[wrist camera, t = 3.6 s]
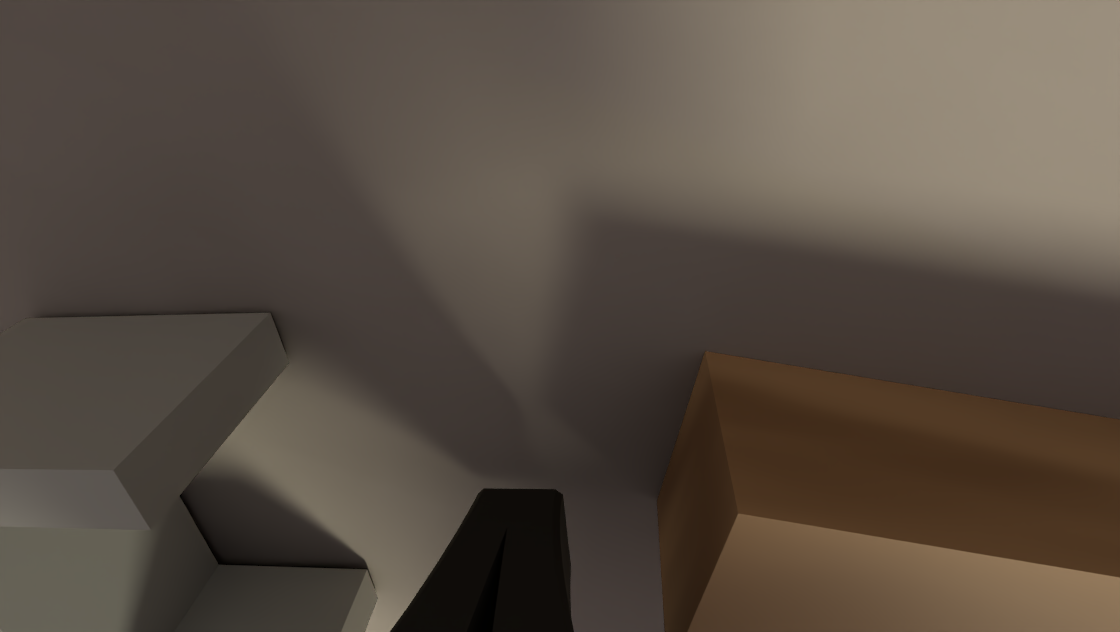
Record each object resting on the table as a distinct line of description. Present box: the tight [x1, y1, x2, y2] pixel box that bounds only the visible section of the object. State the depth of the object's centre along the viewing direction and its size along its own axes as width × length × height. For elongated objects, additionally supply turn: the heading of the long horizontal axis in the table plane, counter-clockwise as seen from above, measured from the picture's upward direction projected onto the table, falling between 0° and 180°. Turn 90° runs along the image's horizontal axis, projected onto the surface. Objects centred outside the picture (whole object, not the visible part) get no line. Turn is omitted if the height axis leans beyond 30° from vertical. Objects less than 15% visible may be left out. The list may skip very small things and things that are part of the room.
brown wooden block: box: [657, 351, 1120, 632], centre depth 9 cm, size 4×10×4 cm, turn 82°
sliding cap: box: [0, 313, 378, 632], centre depth 10 cm, size 8×4×4 cm, turn 5°
